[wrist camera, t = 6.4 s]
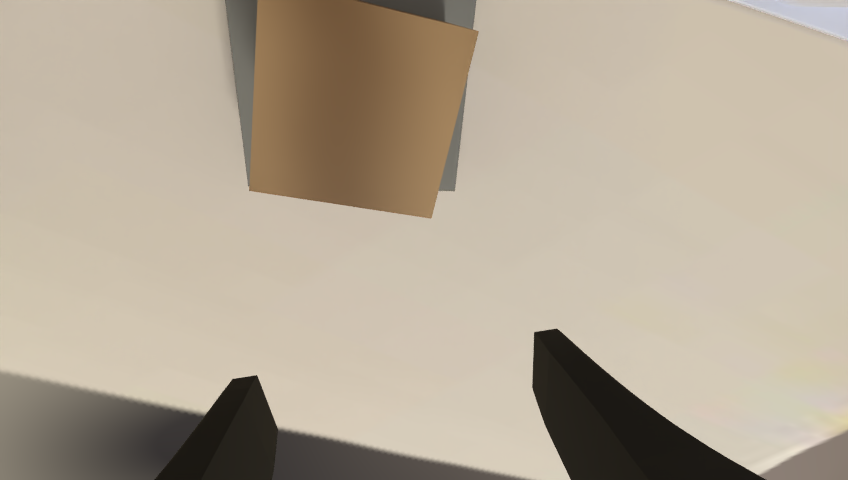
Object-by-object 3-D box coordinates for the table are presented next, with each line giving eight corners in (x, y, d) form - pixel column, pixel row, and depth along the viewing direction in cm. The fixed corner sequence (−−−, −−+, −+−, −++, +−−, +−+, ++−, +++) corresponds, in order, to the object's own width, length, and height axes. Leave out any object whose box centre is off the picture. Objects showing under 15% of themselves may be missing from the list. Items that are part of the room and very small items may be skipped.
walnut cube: (445, 21, 15) (478, 31, 10) (414, 162, 17) (431, 218, 13) (292, -17, 14) (258, -24, 9) (280, 138, 16) (249, 190, 12)
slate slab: (462, -36, 17) (480, -43, 14) (443, 166, 20) (454, 191, 18) (241, -57, 16) (216, -69, 13) (264, 161, 19) (248, 186, 17)
